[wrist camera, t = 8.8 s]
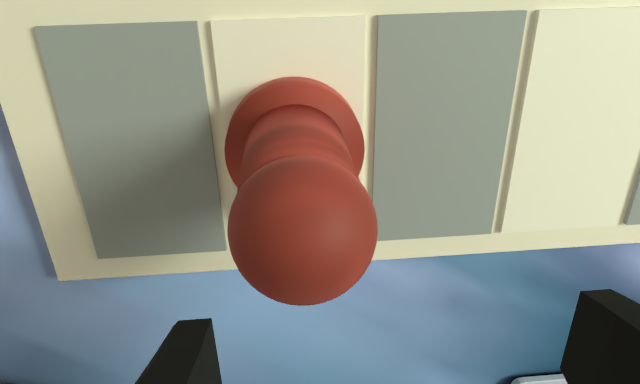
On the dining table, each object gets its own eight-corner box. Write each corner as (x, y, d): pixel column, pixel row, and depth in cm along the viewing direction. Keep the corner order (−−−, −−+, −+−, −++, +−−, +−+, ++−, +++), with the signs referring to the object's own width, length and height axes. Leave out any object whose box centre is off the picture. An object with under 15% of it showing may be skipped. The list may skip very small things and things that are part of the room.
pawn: (358, 197, 17) (410, 348, 11) (234, 204, 17) (208, 363, 10) (361, 73, 15) (425, 165, 9) (220, 79, 15) (176, 178, 8)
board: (742, 222, 21) (768, 236, 19) (69, 265, 19) (56, 284, 18) (853, -37, 16) (894, -36, 15) (-17, -13, 14) (-42, -10, 13)
